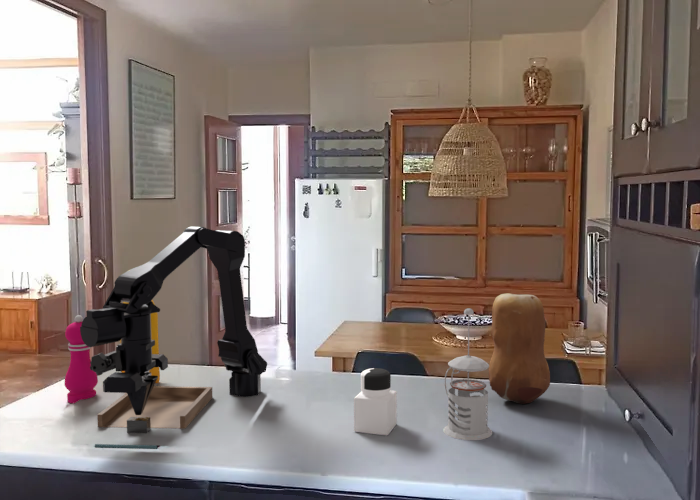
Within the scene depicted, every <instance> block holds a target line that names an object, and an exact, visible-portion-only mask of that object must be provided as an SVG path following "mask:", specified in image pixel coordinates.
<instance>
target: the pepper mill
mask: <svg viewBox="0 0 700 500" xmlns="http://www.w3.org/2000/svg"><path fill="white" fill-rule="evenodd" d="M83 319H84V318H83V316H82V315H80V314H77V315H76V316H75V317H74V321H73V322H72V323H70V324H68V326H66V328H65V335H64V337H65V339H66V340H67V341H68V344H67V346H68V349H67V350H69V352H70V362H69V366H68V368H67V371H66V373H65V378H64V387H65V388H66V390H68V391H69V392H68V393H67V396H66V398H67V403H70V404H73V405H74V404H76V403H77V402H79V401H80V400H81V401H82V400H88V399H91V398H93V397H95V396H96V395H97V391H96V389H95V388H96V386H97V385H98V383H99V380H98V379H99V378H98V376H97V374H96V372H94V371H93V370H91V369H90V366H91V364H90V362H91V355H90V351H91V350H90V349H92V347H88V346H87V345H86V344H85V343H84V342H83V340H82V337H81V333H80V327H81V325H82V321H83Z"/></svg>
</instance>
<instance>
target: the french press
mask: <svg viewBox="0 0 700 500" xmlns="http://www.w3.org/2000/svg"><path fill="white" fill-rule="evenodd" d="M463 315H467V316H468V318H467V354H466V355H462V356H457V357H455V358H454V359H451V360H450V361H449V362H447V365H448V367H449V368H447V370H446V372H445V375H444V387H445V392H446V395H447V396H446V397H447V398H448V400H447V401H448V402H447V403H448V407H447V408H448V409H447V411H448V415H447V417H448V418H447V423H448V424H447V425H446V426H444V427H443V433H444V434H445V435H446V436H447V437H450V438H454V439H458V440H463V441H480V440H485V439H487V438H490V437H492V435H493V431H492V429H491V428H490V427H489V426H488V411H489V407H488V404H489V392H488V390H486V387H487V383H485V382H484V381H482V380H477V379H470V373H471V372H472V373H473V372H482V371H486V370H488V369H489V364H490V363H488V362H487V361H486V360H484V359H482V358H480V357H478V356H473V355H470V316H471V315H472V316H473V315H474V309H473V308H464V311H463ZM451 369H452V372H451V376H450V377H451V379H450V382H449V385H450V388H449V389H448V388H447V375H448V372H449V371H450V370H451ZM455 370H457V372H455ZM461 371H462V372H467V378H459V379H454V380H453V376H454V375H456V374H460V373H461ZM456 390H457V395H456ZM473 393H480V394H481V395H471V394H473ZM456 405H457V407H456Z"/></svg>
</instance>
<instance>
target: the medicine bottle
mask: <svg viewBox="0 0 700 500" xmlns="http://www.w3.org/2000/svg"><path fill="white" fill-rule="evenodd" d="M391 376H392V375H391V372H390V371H389V370H387V369H385V368H379V367H378V368H374V367H373V368H367V369H365V370H362V372H360V392H359V393H358V394H357V395H356V396H355V397H354V398H353V431H354V432H356V433H363V434H371V435H378V436H388V435H390V433H391V431H392V430H393V429H394V428H395V427H396V425H397V424H398V418H397V417H398V415H397V414H398V413H397V412H398V411H397V409H398V404H397V403H398V396H397V395H398V392H397V391H396V390H391V389H392V388H391V387H392V386H391V384H392V383H391V381H392V379H391Z"/></svg>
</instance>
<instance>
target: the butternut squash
mask: <svg viewBox="0 0 700 500" xmlns="http://www.w3.org/2000/svg"><path fill="white" fill-rule="evenodd" d="M544 309H545V308H544V306H543V303H542V301H541V299H540V298H538V297H537V296H536V295H533V294H514V293H507V292H506V293H501V294H499V295H497V296H496V297H495V299H494V301H493V303H492V309H491V331H490V332H491V337H492V340H493V345H494V348H493V352H492V355H491V358H490V361H489V363H488V364H489V367H488V381H489V386H490V388H491V390H492V391H493V392H494V393H496V394H497V395H498V397H499V398H502V399H504V400H507V401H510V402H514V403H515V404H520V405H525V404H526V405H527V404H529V403H533V402H534V401H536V400H537V399H539V398H540V397H541V396H542V395H544V394H545V393H546V392H547V390H548V389H549V388H550V385H551V372H550V367H549V363H548V360H547V359H546V356H545V351H544V350H545V349H544V345H545V337H546V317H545V313H544V312H545V311H544Z"/></svg>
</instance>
